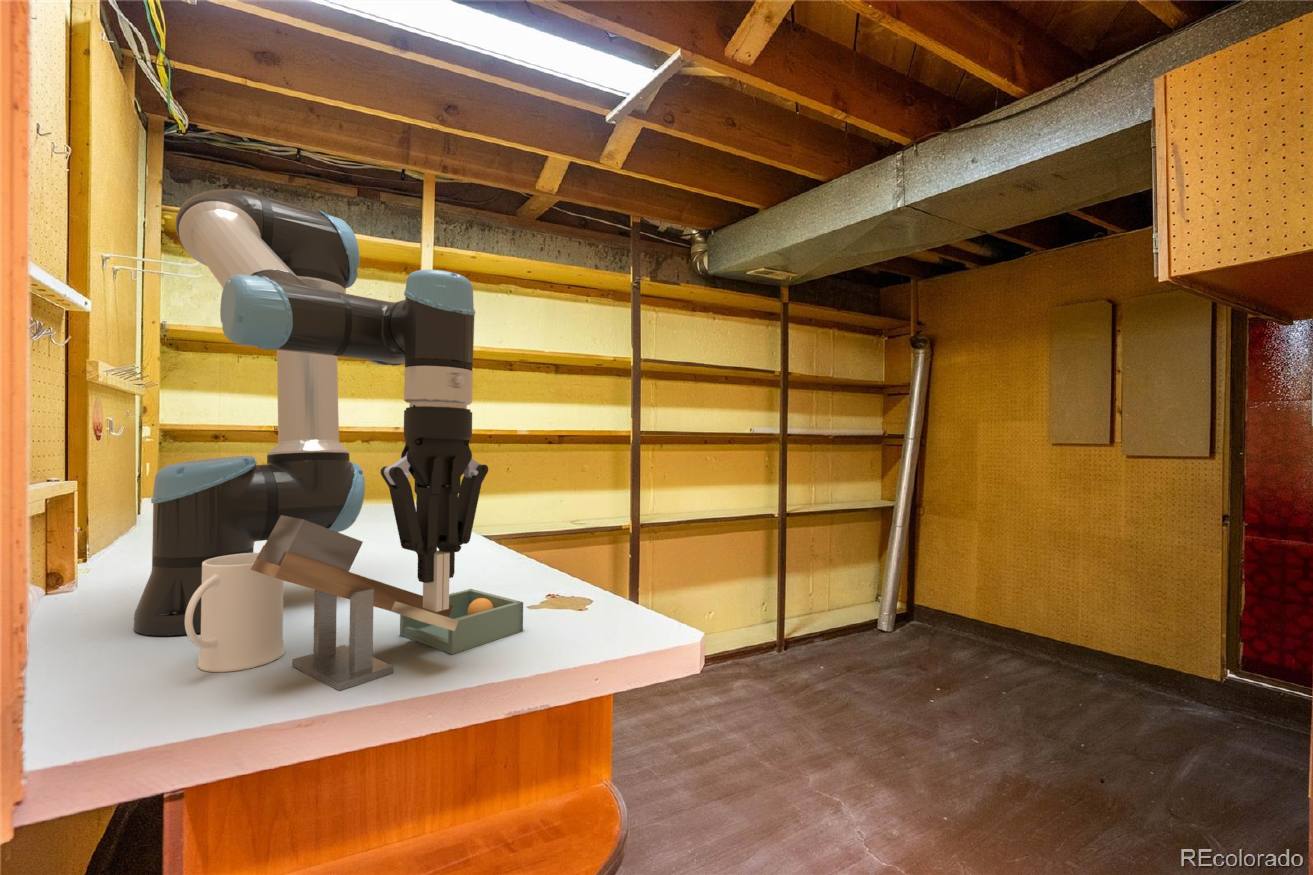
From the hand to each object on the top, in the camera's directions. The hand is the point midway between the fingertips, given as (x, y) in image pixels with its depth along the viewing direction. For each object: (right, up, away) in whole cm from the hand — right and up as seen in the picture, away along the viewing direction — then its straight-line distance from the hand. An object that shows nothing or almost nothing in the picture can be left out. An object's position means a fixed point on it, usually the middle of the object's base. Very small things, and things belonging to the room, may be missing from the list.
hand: (435, 608), depth 68 cm
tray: (-1, -7, +12) cm, 14 cm away
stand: (-10, -7, -1) cm, 12 cm away
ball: (+1, -5, +14) cm, 15 cm away
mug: (-24, -7, 0) cm, 25 cm away
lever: (-7, +1, -2) cm, 7 cm away
